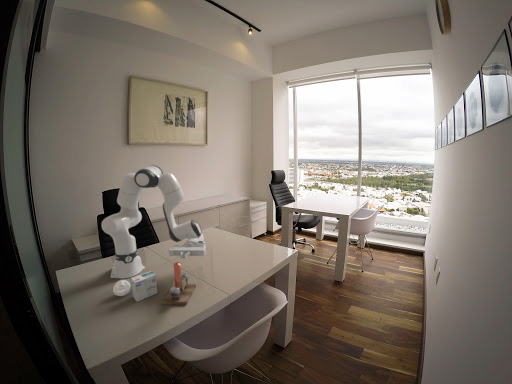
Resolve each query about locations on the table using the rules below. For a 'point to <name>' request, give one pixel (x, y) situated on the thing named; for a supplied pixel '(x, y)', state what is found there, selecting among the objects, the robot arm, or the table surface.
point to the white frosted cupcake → (121, 287)
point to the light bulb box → (144, 285)
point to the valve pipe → (176, 291)
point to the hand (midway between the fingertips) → (183, 256)
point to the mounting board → (184, 296)
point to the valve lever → (177, 275)
